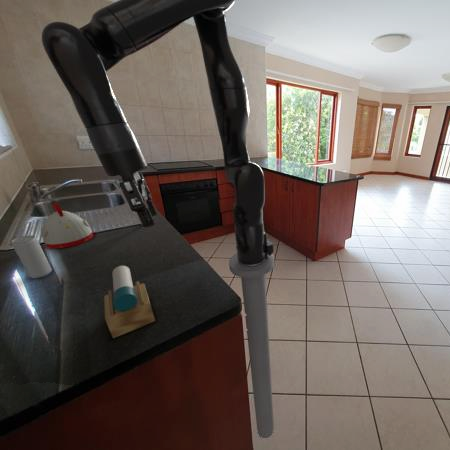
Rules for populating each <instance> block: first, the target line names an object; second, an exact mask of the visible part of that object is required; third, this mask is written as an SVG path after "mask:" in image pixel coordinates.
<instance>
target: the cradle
mask: <svg viewBox="0 0 450 450" xmlns="http://www.w3.org/2000/svg"><path fill="white" fill-rule="evenodd" d="M133 289H134V290H135V293H136V298H137V303H136V305H135V306H134V307H133V308H131V309H129V310H127V311H119V310H116V309H115V308H114V305H113V294H114V292H113V290H112V289H109V290H108V294H106V295H103V298H104V299H103V300H104V320H105V323H106V325H107V327H108V331H109V332H110V335H111V337H112V339H115V338H117V337H120V336H123V335H125V334H127V333H130V332H132V331H135V330H137V329H139V328H142V327H144V326H147V325H150V324H152V323H153V322H156V318H155V315H154V311H153V308H152V304H151V301H150V297H149V294H148V291H147V288H146V284H145V283H143V282H142V283H140V282H139V281H138V280H137V281H135V285H133Z"/></svg>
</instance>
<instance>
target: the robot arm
mask: <svg viewBox="0 0 450 450" xmlns="http://www.w3.org/2000/svg"><path fill="white" fill-rule="evenodd" d="M235 2H236V0H117V1H115V2H113V3H111V4H108V5H106V6H104V7H101V8H100V9H98V10H96V11H95V12H94V13H93V14H92V16H91V19H90V21H89V22H88V23H86V24H85V25H83V26H81V27H79V28H78V27H77V26H75V25H73V24H70V23H68V22H64V21H53V22H49V23H48V24H47V25H45V26H44V28H43V29H42V31H41V43H42V47H43V49H44V51H45V54H46V56H47V57H48V59H49V61H50V63H51V65H52V67H53V68H54V70H55V73H56V74H57V75H58V77H59V79H60V80H61V83H62V84H63V85H64V87H65V89H66V90H67V92H68V94H69V96H70V98H71V101H72V103H73V105H74V108H75V111H76V112H77V115H78V117H79V119H80V120H81V122H82V124H83V126H84V128H85V131H86V133H87V136H88V139H89V141H90V144H91V146H92V147H93V150H94V152H95V154H96V155H97V158H98V160H99V162H100V164H101V166H102V167H103V170H104V171H105V174H106V175H107V176H108V177H116V176H120V177H121V180H122V181H121V182H119V188H120V189H121V191H122V193H123V196H124V197H125V199H126V202H127V204H128V206H129V209H130V211H131V212H132V211H133V212H134V211H135V212H137V214H138V216H139V218H138V219H139V221H141V222H140V224H141V223H142V225H141V226H143V228H146V229H147V228H150V227H153V226H154V225H155V223H156V222H155V219H154V216H157V215H158V211H157V210H156V207H155V205H154V202H153V200H152V199H153V197H152V192H151V191H150V189H149V186H148V185H147V181H146V179H145V177H144V175H143V173H142V172H141V171H143V170H146V169H147V168H148V164H147V162H146V159H145V156H144V155H143V152H142V150H141V147H140V145H139V143H138V141H137V138H136V136H135V134H134V132H133V130H132V128H131V127H130V124H129V123H128V120H127V118H126V116H125V113H124V111H123V109H122V106H121V104H120V103H119V101H118V99H117V97H116V95H115V93H114V91H113V87H112V86H111V82H110V80H109V77H108V74H107V72H109V70H110V69H112V68H114V66H115V67H116V66H117V64H119V63H120V62H121V61H123V60H124V59H125V58H127V57H129V56H131V55H134V54H136V53H138V52H140V51H141V50H143V49H145V48H147V47H149V46H150V45H153V44H154V43H156V42H157V41H159V40H161V39H162V38H163V37H165V36H166V35H168V34H169V33H170V32H172V31H173V30H175V28H177V27H178V26H180V25H182V24H183V23H185V22H187V21H188V20H189V19H192V18H193V22H194V25H195V29H196V32H197V36H198V39H199V43H200V48H201V52H202V54H201V55H202V59H203V64H204V65H203V66H204V68H205V69H204V70H205V74H206V78H207V79H206V80H207V85H208V90H209V95H210V99H211V100H210V101H211V104H212V109H213V112H214V117H215V122H216V125H217V130H218V133H219V138H220V141H221V147H222V155H223V165H224V173H225V179H226V181H227V183H228V184H229V185H230V187H232V188H233V189H234V194H235V195H234V196H235V203H233V204H232V216H233V225H234V236H235V243H236V244H235V245H236V246H235V249H236V253H237V254H238V263H239V264H240V265H242V266H246V267H253V266H258V265H260V264H262V263H263V262H264V261H265V260H266V259H268V255H270V256H271V254H273V253H274V243H272V242H271V241H269V240H268V235H267V233H266V232H265V225H264V206H265V201H266V183H265V182H266V181H265V175H264V171H263V169H262V167H260V166H259V165H258V164H257V163H255V162H252V161H251V160H250V156H249V151H248V145H247V131H248V127H249V125H248V124H249V118H250V117H249V116H250V105H249V99H248V93H247V92H248V91H247V85H246V82H245V78H244V75H243V72H242V70H241V68H240V66H239V63H238V62H237V60H236V57H235V56H234V52H233V50H232V48H231V43H230V40H229V34H228V27H227V26H228V25H227V18H226V17H227V16H226V12H228V11H229V10H230V9H231V8H232V6H233V5H234V4H235ZM137 202H140V204H136V203H137ZM133 212H132V213H133ZM138 216H137V217H138Z"/></svg>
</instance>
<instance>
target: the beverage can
mask: <svg viewBox="0 0 450 450" xmlns="http://www.w3.org/2000/svg"><path fill="white" fill-rule="evenodd" d="M11 246H12V247H13V250H14V251H15V253H16V255H17V257H18V258H19V260H20V261H21V263H22V265H23V267H24V269H25V271H26V273H27V275H28V276H29V277H30V278H31V279H40V278H43V277H46V276H47V275H49V274H51V272H52V270H53V269H52V267H51V264H50V263H49V261H48V258H47V257H46V255H45V254H46V253H45V252H44V251H43V249H42V245H41V244H40V242H39V240H38V238H37V237H36V236H35V235H24V236H19V237H17V238H14V239H13V240H11Z"/></svg>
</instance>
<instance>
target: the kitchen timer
mask: <svg viewBox="0 0 450 450" xmlns="http://www.w3.org/2000/svg"><path fill="white" fill-rule="evenodd" d="M53 210H54V212H52V213H51V214H50V215H49V216H48V217H47V218H46V219H45V221H44V224H43V226H40V233H41V238H42V241H43V243H44V246H45V247H46V248H47V249H64V248H69V247H74V246H77V245H81V244H83V243H86V242H88V241H90V240H91V239H92V238H93V237H94V232H93V230H92V228H91V227H90V224H89V222H88V221H87V219H84V218H82V217H80V216H79V215H77V214H75V213H73V212H71V211H66V210H62V208H61V207H60V204H58V203H57V202H53Z"/></svg>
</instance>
